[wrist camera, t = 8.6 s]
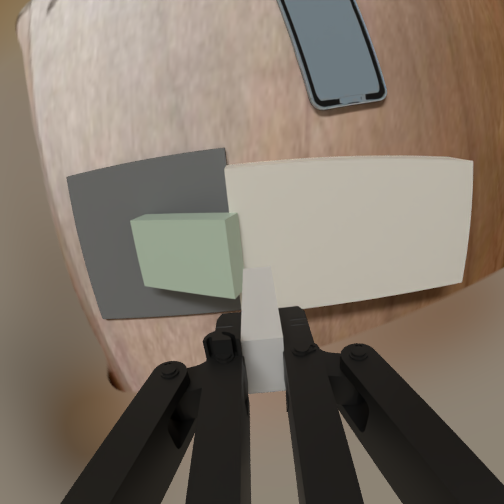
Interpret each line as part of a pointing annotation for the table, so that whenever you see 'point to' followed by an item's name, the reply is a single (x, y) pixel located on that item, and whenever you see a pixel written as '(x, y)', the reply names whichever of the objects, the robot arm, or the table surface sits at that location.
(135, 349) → the table surface
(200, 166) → the mat
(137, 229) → the tile
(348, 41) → the smartphone
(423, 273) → the board
